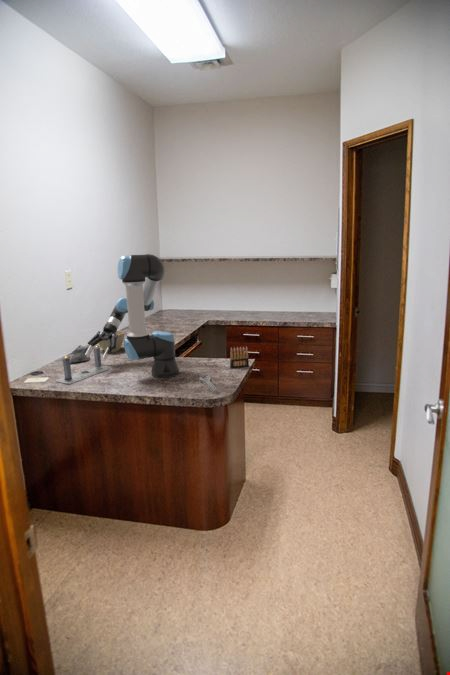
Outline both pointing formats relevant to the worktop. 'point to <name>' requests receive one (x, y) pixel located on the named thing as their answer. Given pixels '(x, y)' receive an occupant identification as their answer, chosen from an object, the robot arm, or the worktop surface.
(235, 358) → the ammunition clip
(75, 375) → the bolt plate
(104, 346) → the flower pot
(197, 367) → the worktop surface
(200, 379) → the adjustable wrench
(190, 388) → the worktop surface
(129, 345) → the robot arm
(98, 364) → the leg
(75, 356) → the mineral rock
